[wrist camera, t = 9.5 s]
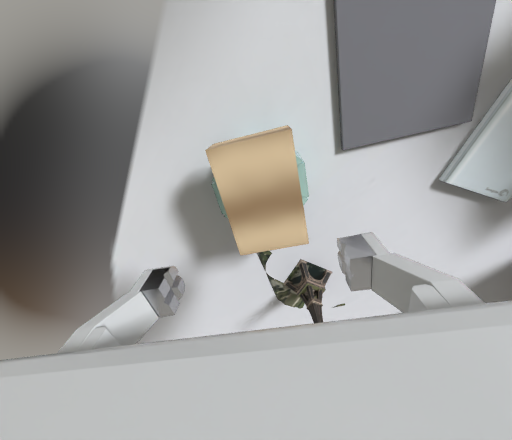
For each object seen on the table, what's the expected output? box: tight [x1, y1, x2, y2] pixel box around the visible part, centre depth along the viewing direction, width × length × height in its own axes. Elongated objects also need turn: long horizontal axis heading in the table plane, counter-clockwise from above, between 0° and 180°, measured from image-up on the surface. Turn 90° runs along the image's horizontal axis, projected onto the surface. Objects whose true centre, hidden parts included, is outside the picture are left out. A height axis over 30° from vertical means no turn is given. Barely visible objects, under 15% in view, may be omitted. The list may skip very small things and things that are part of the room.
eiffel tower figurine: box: [258, 251, 345, 323], centre depth 26 cm, size 15×10×13 cm
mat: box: [334, 0, 496, 150], centre depth 19 cm, size 14×12×1 cm
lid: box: [205, 125, 309, 255], centre depth 19 cm, size 10×6×3 cm, turn 14°
